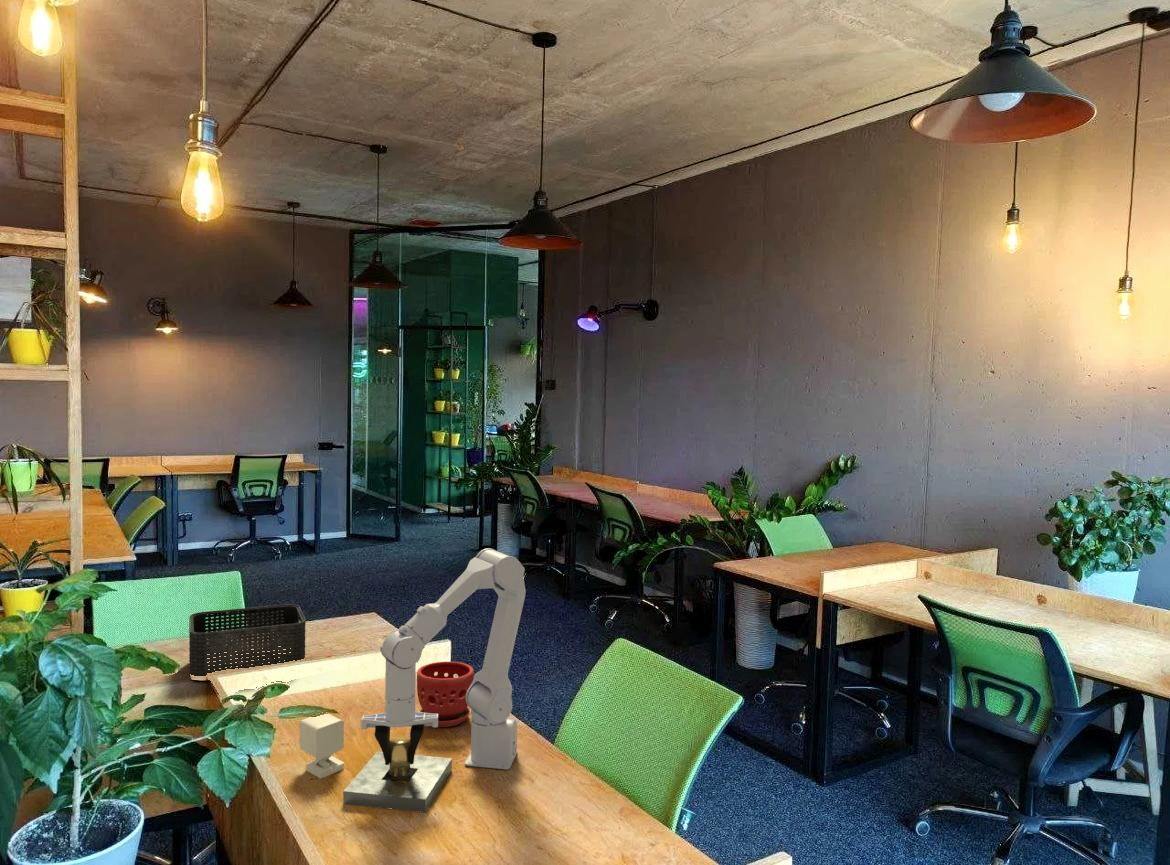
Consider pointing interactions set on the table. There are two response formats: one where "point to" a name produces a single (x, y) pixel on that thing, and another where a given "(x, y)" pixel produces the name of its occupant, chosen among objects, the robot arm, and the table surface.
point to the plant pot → (445, 691)
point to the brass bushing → (399, 756)
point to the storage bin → (245, 638)
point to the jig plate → (398, 784)
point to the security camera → (322, 743)
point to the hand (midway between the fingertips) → (399, 762)
